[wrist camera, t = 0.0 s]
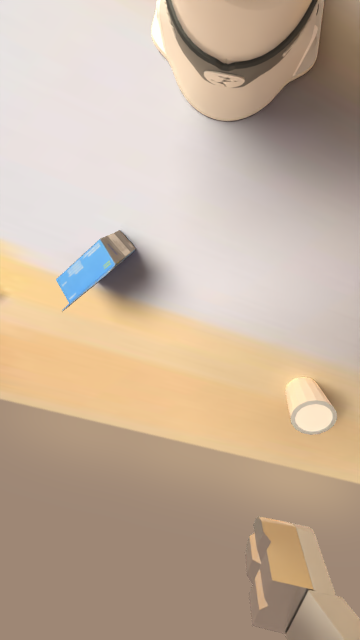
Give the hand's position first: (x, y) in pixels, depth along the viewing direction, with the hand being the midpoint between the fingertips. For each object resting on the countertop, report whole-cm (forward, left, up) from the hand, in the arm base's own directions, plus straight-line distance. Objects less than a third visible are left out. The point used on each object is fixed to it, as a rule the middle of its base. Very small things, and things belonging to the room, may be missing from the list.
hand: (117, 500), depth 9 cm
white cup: (+21, +23, -39) cm, 50 cm away
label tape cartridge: (+4, -13, -39) cm, 41 cm away
